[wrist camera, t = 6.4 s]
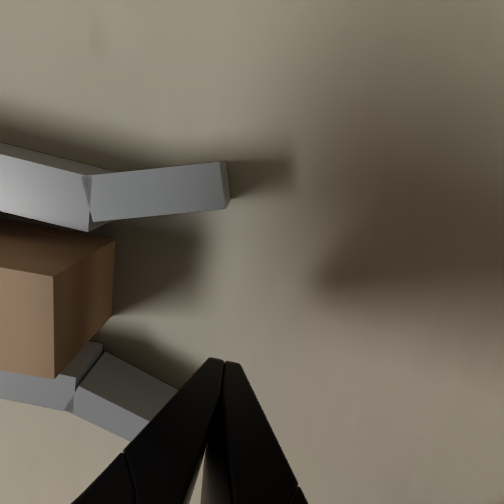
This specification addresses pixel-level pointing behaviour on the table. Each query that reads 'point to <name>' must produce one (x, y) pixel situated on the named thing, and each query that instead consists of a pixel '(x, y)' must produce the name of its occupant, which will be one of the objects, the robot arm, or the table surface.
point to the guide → (87, 219)
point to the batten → (51, 295)
